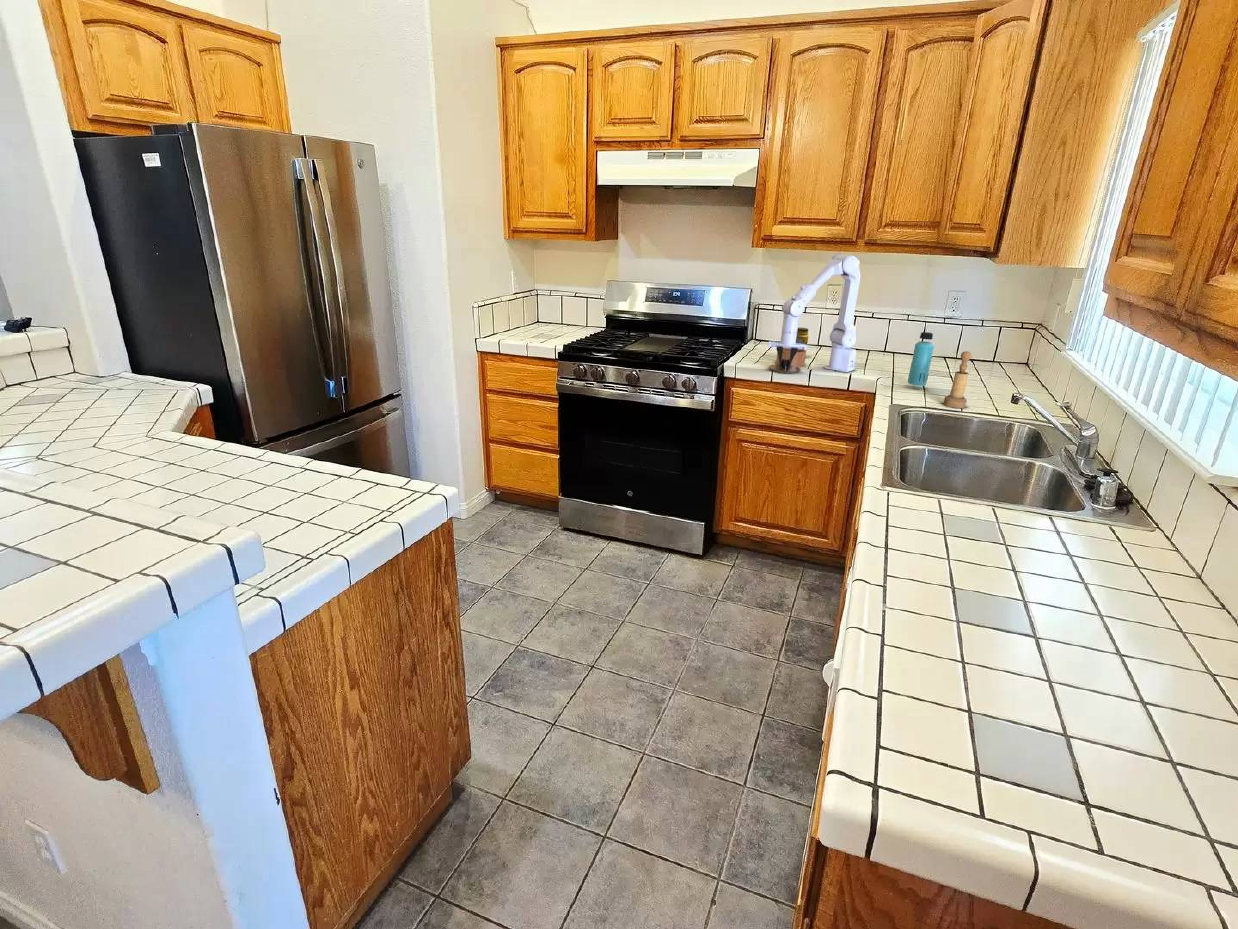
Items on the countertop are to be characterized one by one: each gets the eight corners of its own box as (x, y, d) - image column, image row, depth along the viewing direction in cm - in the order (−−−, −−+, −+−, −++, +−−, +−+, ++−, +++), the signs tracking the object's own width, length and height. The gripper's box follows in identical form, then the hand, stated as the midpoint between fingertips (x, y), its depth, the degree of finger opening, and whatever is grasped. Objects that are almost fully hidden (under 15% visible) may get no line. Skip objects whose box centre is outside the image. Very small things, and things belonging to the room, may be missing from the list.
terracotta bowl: (809, 364, 266) (811, 350, 264) (795, 368, 258) (797, 353, 256) (785, 359, 273) (787, 345, 271) (770, 363, 266) (772, 348, 263)
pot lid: (805, 371, 254) (807, 359, 252) (789, 375, 246) (791, 364, 244) (778, 365, 262) (780, 354, 260) (762, 369, 253) (763, 358, 252)
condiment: (809, 356, 281) (813, 328, 276) (798, 359, 275) (803, 330, 271) (794, 353, 286) (798, 326, 281) (784, 355, 280) (787, 328, 276)
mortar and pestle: (944, 406, 213) (956, 352, 207) (942, 401, 219) (954, 348, 212) (966, 409, 211) (979, 354, 204) (964, 404, 217) (977, 350, 210)
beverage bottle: (916, 390, 232) (928, 334, 225) (902, 385, 237) (913, 331, 230) (929, 389, 234) (941, 333, 227) (915, 384, 240) (926, 330, 233)
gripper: (808, 331, 250) (803, 366, 255) (770, 328, 253) (766, 362, 258) (809, 334, 244) (803, 369, 249) (769, 331, 247) (765, 366, 252)
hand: (784, 366), depth 253 cm, fingers closed on pot lid, 3 cm apart
